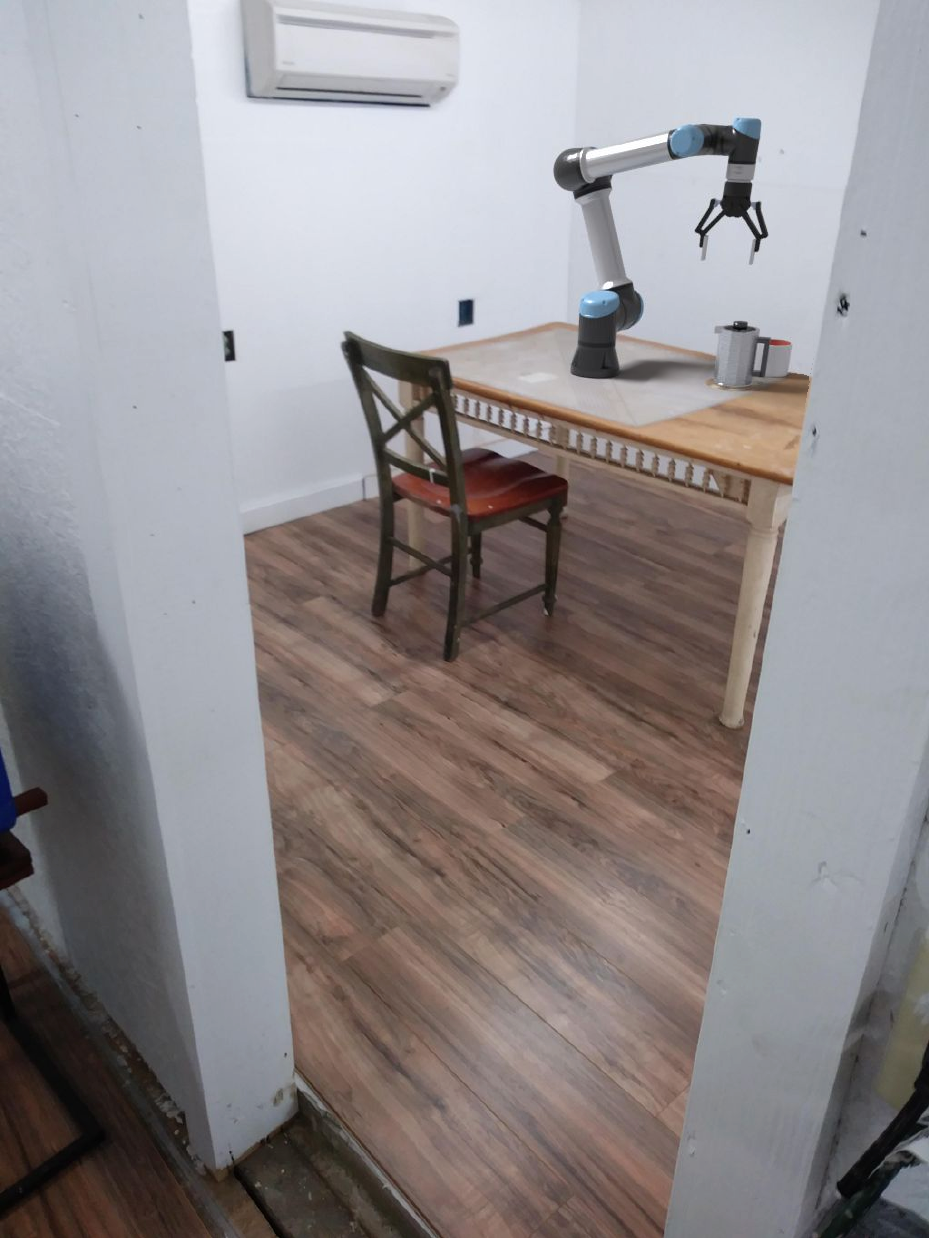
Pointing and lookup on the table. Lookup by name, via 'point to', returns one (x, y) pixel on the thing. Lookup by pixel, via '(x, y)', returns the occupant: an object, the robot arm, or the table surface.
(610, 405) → the table surface
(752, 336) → the carafe
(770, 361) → the cup
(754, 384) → the trivet
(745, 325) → the plunger
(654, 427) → the table surface
